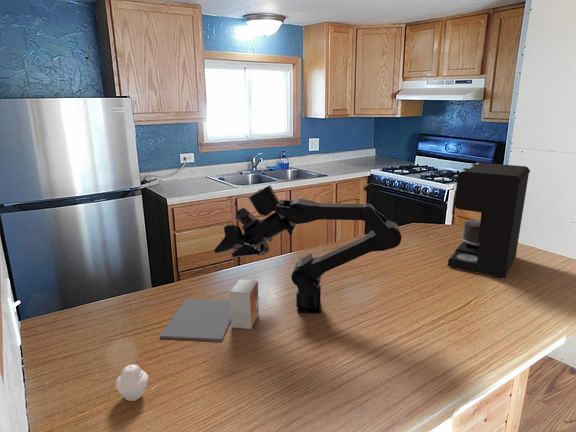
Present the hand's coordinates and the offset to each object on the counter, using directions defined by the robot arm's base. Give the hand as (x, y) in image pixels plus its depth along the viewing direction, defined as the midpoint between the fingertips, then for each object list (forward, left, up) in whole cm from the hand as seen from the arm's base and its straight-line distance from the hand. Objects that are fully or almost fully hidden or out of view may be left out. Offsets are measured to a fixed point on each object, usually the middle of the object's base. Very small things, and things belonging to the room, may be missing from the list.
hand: (224, 253), depth 119 cm
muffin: (+9, +42, -15) cm, 45 cm away
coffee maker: (-88, -40, -16) cm, 98 cm away
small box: (-8, +11, -16) cm, 20 cm away
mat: (+4, +11, -15) cm, 19 cm away
